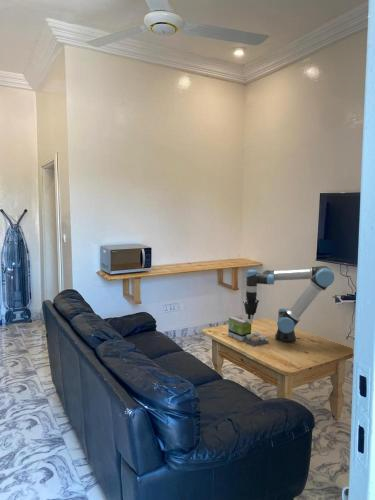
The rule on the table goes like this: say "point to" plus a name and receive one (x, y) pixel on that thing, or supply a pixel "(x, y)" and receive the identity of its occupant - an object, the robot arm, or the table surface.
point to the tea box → (239, 327)
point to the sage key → (249, 337)
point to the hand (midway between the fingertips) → (250, 323)
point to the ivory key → (261, 338)
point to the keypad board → (255, 343)
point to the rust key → (255, 339)
